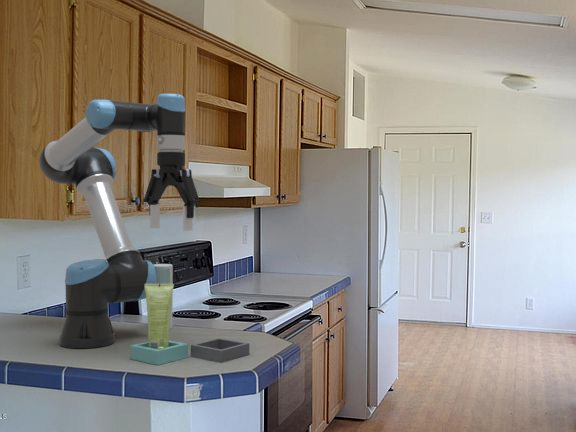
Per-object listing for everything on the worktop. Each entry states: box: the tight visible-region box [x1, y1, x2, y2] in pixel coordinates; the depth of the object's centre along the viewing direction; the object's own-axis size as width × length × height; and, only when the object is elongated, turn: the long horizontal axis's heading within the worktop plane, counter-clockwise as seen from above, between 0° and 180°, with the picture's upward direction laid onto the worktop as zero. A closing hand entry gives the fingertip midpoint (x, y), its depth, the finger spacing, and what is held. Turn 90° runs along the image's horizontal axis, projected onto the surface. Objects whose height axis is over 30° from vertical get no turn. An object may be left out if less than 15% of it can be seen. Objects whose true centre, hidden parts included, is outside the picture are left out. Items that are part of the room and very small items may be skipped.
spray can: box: [153, 263, 174, 330], centre depth 226 cm, size 6×6×20 cm
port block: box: [129, 340, 189, 366], centre depth 187 cm, size 10×10×4 cm
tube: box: [144, 283, 175, 349], centre depth 187 cm, size 6×5×20 cm
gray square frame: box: [190, 337, 250, 363], centre depth 190 cm, size 11×11×3 cm
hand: (171, 229), depth 196 cm, fingers open, 13 cm apart
